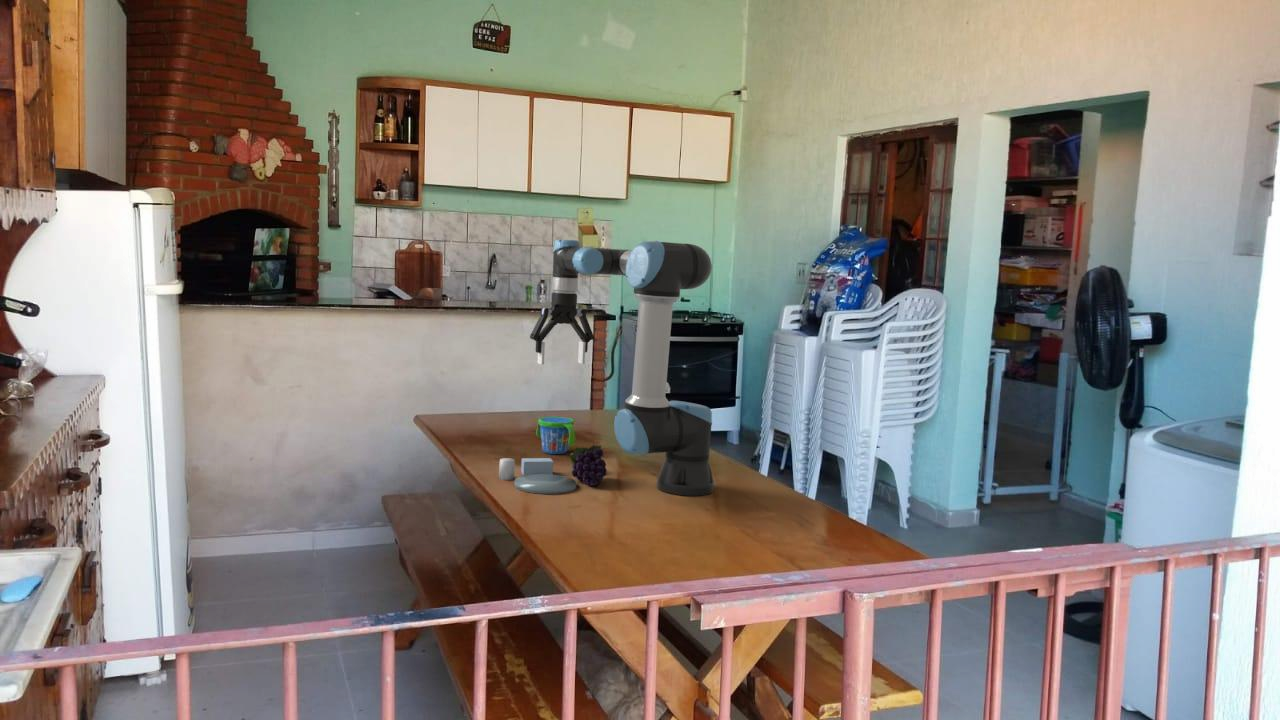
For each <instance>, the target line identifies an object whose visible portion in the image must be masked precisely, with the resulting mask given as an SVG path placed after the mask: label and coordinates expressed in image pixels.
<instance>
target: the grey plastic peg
mask: <svg viewBox="0 0 1280 720" xmlns="http://www.w3.org/2000/svg"><path fill="white" fill-rule="evenodd" d="M515 462H516V460H515V458H509V457H507V458H506V457H503V458H500V459H499V463H498V464H499V467H498V468H499V469H498V480H501V481H512V480H515V464H516V463H515Z"/></svg>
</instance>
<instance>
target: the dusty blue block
mask: <svg viewBox="0 0 1280 720" xmlns="http://www.w3.org/2000/svg"><path fill="white" fill-rule="evenodd" d="M553 471H554V461H553V459H552V458H551V457H549V458H548V457H545V458H544V457H540V458H538V457H537V458H535V457H533V458H531V457H530V458H528V457H525V458H524V457H523V458H521V465H520V473H521V474H522V476H525V475H532V474H551V475H554V474H553V473H554V472H553Z"/></svg>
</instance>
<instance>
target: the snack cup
mask: <svg viewBox="0 0 1280 720" xmlns="http://www.w3.org/2000/svg"><path fill="white" fill-rule="evenodd" d="M537 422H538V423H537V428H536V433H535V434H536V437H537V438H541V448H542V452H543V453H545V454H548V455H563V454H565V453H567V452H568V451H569V447H571V446H574V445H575V443H576V434H575V433H576V432H575V427H574V424H575V421H574V419H572V418H570V417H565V416H564V417H562V416H543V417H540V418H539V419H538V421H537Z"/></svg>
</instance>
